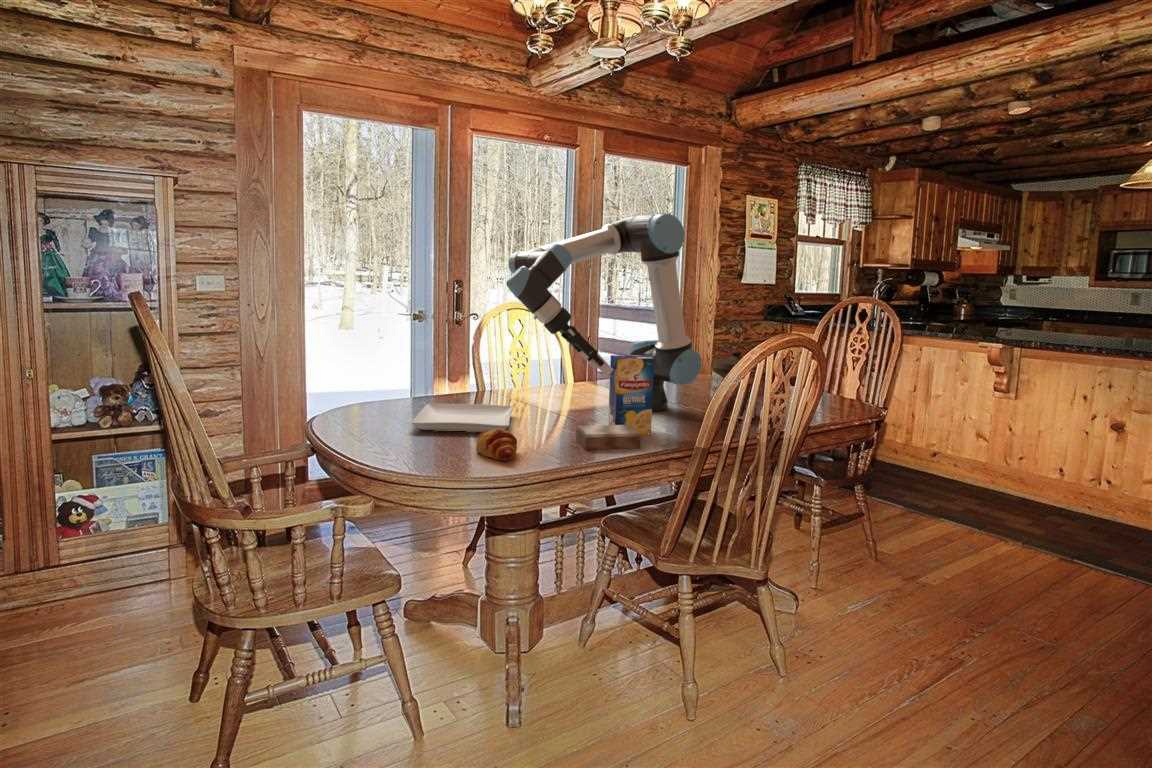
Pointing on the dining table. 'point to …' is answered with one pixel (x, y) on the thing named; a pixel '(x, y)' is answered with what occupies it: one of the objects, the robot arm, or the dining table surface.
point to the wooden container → (719, 372)
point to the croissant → (497, 444)
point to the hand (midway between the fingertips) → (603, 369)
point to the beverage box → (631, 392)
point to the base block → (608, 437)
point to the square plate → (463, 417)
